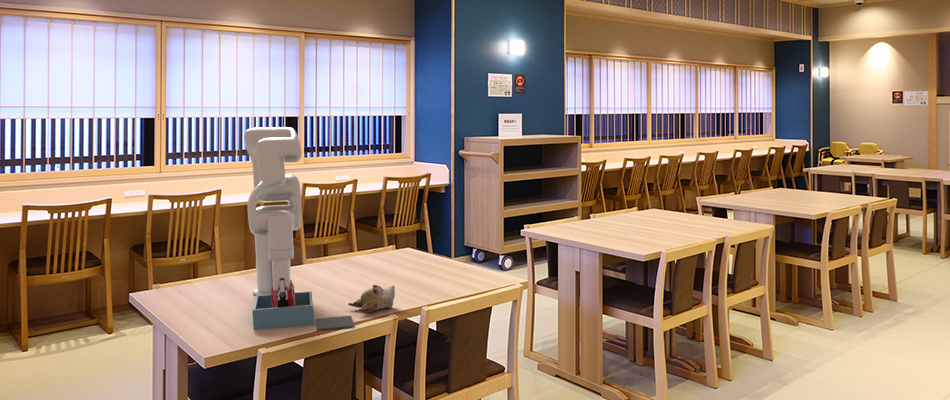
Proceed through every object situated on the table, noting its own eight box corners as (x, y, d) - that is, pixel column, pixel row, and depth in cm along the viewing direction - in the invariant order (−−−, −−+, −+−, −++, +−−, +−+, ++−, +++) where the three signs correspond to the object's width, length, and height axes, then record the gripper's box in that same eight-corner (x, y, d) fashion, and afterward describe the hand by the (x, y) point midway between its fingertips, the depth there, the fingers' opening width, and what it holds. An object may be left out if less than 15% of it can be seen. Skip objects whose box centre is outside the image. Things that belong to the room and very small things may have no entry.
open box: (256, 313, 223) (255, 295, 222) (312, 309, 227) (311, 291, 226) (253, 329, 206) (252, 310, 205) (313, 324, 210) (312, 305, 209)
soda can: (288, 314, 221) (286, 277, 220) (300, 318, 216) (298, 281, 215) (268, 319, 216) (266, 281, 215) (279, 323, 211) (277, 285, 210)
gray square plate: (315, 320, 214) (315, 318, 214) (351, 317, 217) (351, 315, 217) (316, 330, 204) (316, 328, 204) (354, 327, 206) (354, 325, 206)
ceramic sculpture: (400, 283, 224) (357, 293, 216) (403, 309, 225) (360, 319, 217) (387, 277, 233) (345, 286, 225) (389, 302, 234) (347, 312, 226)
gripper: (269, 249, 221) (272, 303, 223) (267, 260, 204) (270, 318, 207) (293, 248, 223) (296, 301, 225) (293, 258, 206) (296, 316, 208)
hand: (283, 308), depth 216 cm, fingers closed on soda can, 7 cm apart
